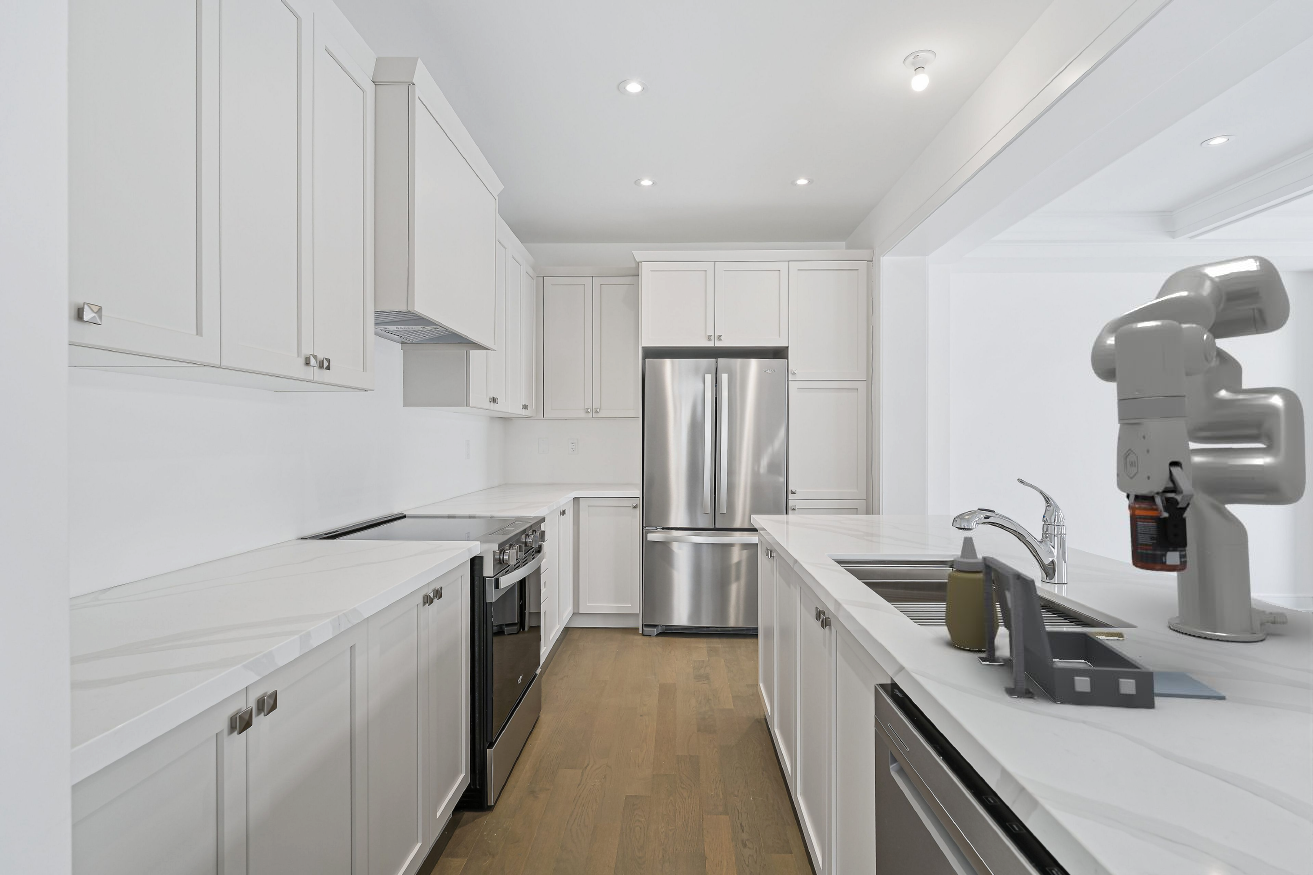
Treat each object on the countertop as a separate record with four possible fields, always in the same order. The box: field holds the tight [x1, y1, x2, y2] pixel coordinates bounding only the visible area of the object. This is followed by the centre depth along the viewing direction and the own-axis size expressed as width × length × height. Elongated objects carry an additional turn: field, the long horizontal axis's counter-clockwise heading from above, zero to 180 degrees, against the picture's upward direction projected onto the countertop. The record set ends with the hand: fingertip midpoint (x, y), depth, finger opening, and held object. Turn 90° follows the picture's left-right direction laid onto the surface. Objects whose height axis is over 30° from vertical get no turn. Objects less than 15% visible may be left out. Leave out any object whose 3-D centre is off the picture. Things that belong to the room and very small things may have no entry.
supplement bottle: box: [1128, 490, 1187, 573], centre depth 86 cm, size 6×6×11 cm
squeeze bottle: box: [944, 536, 1000, 651], centre depth 104 cm, size 8×8×18 cm
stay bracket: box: [977, 555, 1036, 698], centre depth 90 cm, size 3×15×16 cm, turn 167°
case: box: [1008, 629, 1156, 709], centre depth 88 cm, size 11×18×4 cm, turn 167°
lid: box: [990, 556, 1055, 666], centre depth 90 cm, size 11×18×1 cm
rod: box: [1060, 629, 1125, 639], centre depth 107 cm, size 12×1×1 cm, turn 77°
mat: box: [1152, 670, 1227, 700], centre depth 86 cm, size 9×9×1 cm
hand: (1157, 542), depth 86 cm, fingers closed on supplement bottle, 6 cm apart
